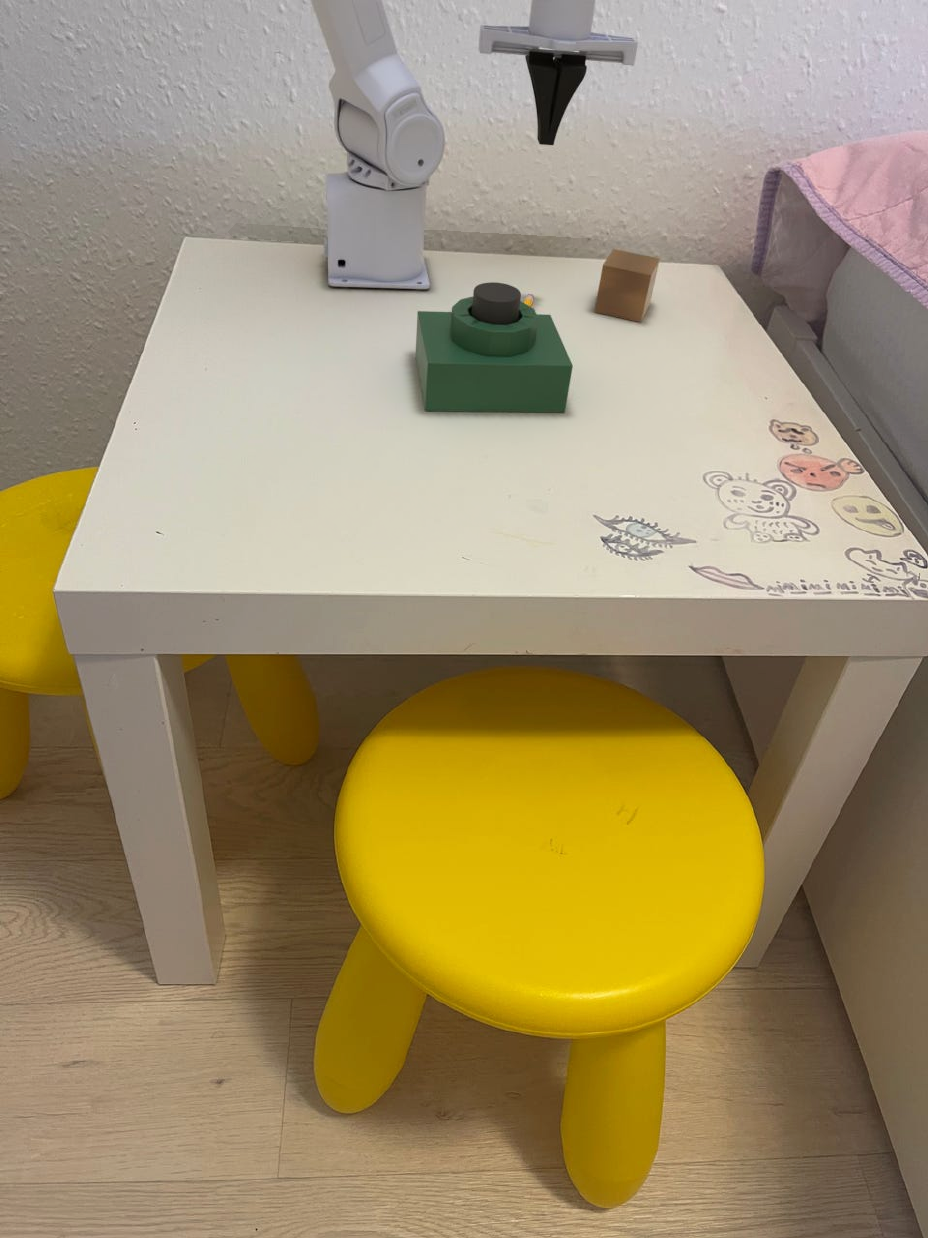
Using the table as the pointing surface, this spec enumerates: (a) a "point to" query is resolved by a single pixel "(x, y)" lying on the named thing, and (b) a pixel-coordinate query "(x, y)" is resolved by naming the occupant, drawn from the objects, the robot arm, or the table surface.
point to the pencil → (529, 300)
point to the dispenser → (491, 362)
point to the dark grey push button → (496, 303)
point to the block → (626, 285)
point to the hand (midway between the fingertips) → (545, 141)
